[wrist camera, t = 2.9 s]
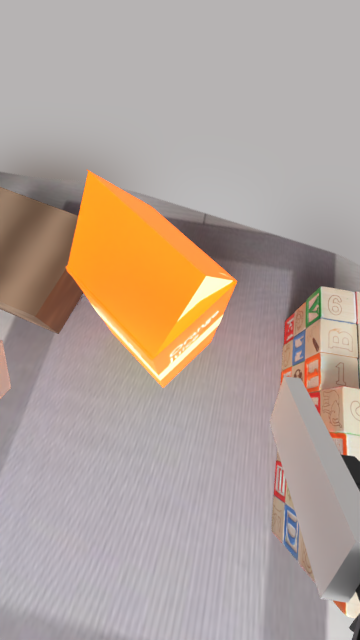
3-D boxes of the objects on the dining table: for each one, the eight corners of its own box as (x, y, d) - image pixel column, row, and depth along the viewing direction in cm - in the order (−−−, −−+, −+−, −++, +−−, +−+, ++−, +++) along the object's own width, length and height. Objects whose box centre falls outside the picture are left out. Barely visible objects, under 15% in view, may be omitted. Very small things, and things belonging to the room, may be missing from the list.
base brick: (-41, 291, 34) (-83, 266, 28) (16, 218, 38) (-12, 182, 32) (59, 334, 32) (35, 316, 27) (108, 253, 36) (95, 222, 31)
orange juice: (162, 389, 30) (140, 335, 11) (110, 332, 32) (19, 208, 14) (212, 340, 32) (264, 226, 13) (160, 290, 34) (142, 130, 15)
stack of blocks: (282, 320, 33) (339, 265, 22) (335, 329, 33) (422, 279, 21) (270, 533, 26) (347, 621, 14) (338, 547, 26) (472, 649, 14)
